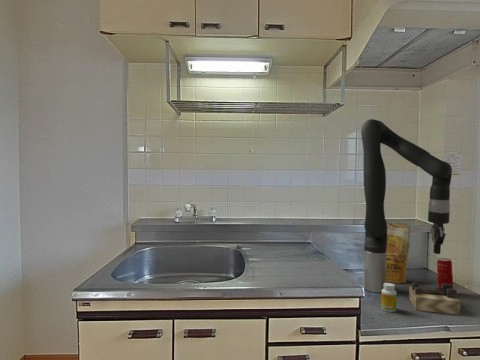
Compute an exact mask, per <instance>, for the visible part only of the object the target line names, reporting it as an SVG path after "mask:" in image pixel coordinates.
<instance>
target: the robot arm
mask: <svg viewBox="0 0 480 360" xmlns="http://www.w3.org/2000/svg"><path fill="white" fill-rule="evenodd" d="M360 136H361V141H362V142H361V143H362V149H363V150H362V151H363V153H362V154H363V165H362V166H363V167H362V168H363V173H362V175H363V191H364V197H365V218H364V234H365V236H364V246H363V247H364V250H363V251H364V255H363V256H364V257H363V278H362V279H363V281H362V283H363V285H362V286H363V287H362V288H363V290H364V289H365V290H364V291H368V292H372V293H382V289H384V287H383V286H384V283H387V282H386V250H387V219H386V216H385V215H386V214H385V198H386V188H387V186H386V185H387V177H386V175H387V173H386V167H385V162H384V159H383V156H382V151H381V147H382V145H381V144H383V145H385V146H387V147H388V148H390V149H391V150H393V151H395V153H397V154H398V155H399V156H401V157H402V158H403V159H404V160H406V161H408V162H410V163H411V164H413V165H414V166H416V167H419V168H420V169H421V170H422V171H424V172H425V173H427V174H428V175H430V176H431V177H432V180H431V186H430V189H429V199H428V200H429V201H428V208H427V209H428V211H427V222H429V223H432V226H431V228H430V232H431V241H432V245H433V250H432V251H433V254H434V255H435V254H436V255H440V254H441V247H442V245H443V244H444V241H445V238H446V233H445V231H446V229H445V227H444V225H445V224H447V225H448V224H449V223H450V214H451V212H450V211H451V209H450V208H451V204H450V203H451V202H450V196H451V195H450V193H451V191H450V190H451V182H452V177H453V176H452V174H453V173H452V172H453V171H452V168H453V167H452V165H451V164H450V163H449V162H447V161H445V160H441V159H440V158H438V157H436V156H434V155H432V154H431V153H430V152H429V151H427V150H425V149H424V148H422V147H421V146H418V145H417V144H415V143H413V142H411V141H409V140H407V139H405V138H403V137H402V136H400V135H399V134H397V133H396V132H394V131H393V130H392V129H390V128H389V127H388V126H387V125H386V124H385V123H384V122H382V121H381V120H377V119H373V118H371V119H367V120H365V121H364V122H363V123H362V126H361V130H360Z"/></svg>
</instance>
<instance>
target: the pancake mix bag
mask: <svg viewBox="0 0 480 360" xmlns="http://www.w3.org/2000/svg"><path fill="white" fill-rule="evenodd" d="M386 222H387V221H386ZM410 233H411V231H410V226H409V225H408V224H406V223H400V222H399V223H398V222H387V250H386V283H391V284H397V285H398V284H399V285H400V284H406V273H407V265H408V260H409V259H408V258H409V249H410Z"/></svg>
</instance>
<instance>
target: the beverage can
mask: <svg viewBox="0 0 480 360" xmlns="http://www.w3.org/2000/svg"><path fill="white" fill-rule="evenodd" d="M436 271H437V272H436V273H437V288H442V283H443V284H451V289H454V277H453V276H454V275H453V261H452V259H451V258H447V257H439V258H437V260H436Z"/></svg>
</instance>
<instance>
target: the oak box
mask: <svg viewBox="0 0 480 360" xmlns="http://www.w3.org/2000/svg"><path fill="white" fill-rule="evenodd" d="M415 286H419V283H418V282H412V284H411V285H409V286H408V290H409V291H408V298H409V300H410V302H411V304H412V306H413V308H414V309H415V311H421V312H432V313H441V314H449V315H450V314H452V315H461V300H460V299H459V298H458V297H457V290H456V288H453V289H451V284H443V283H442V288H449V289H447V290H446V294H434V293H421V290H422V289H421V288H417V287H415ZM414 287H415V288H414Z"/></svg>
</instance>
